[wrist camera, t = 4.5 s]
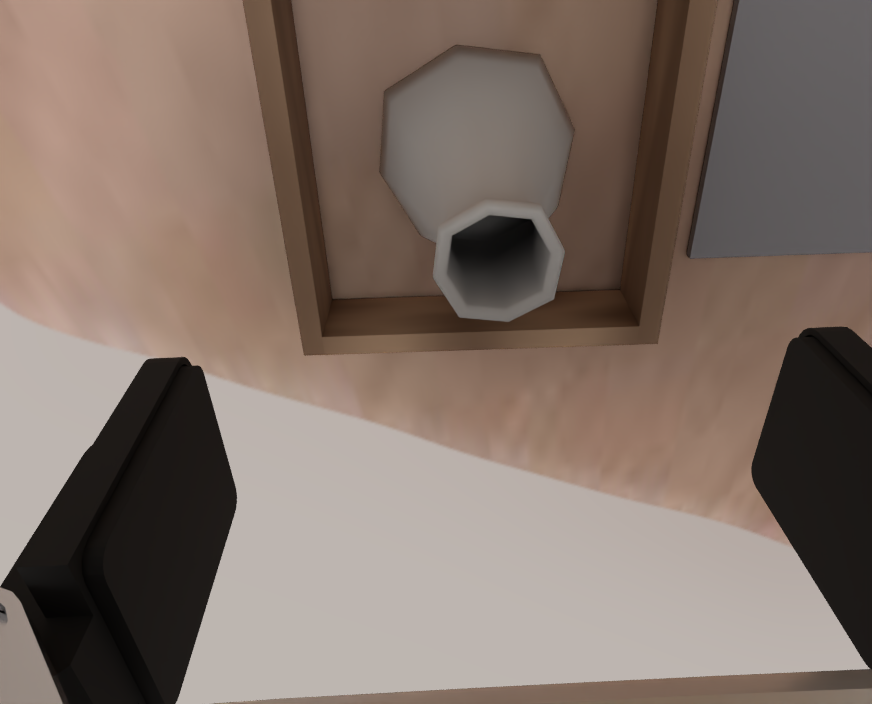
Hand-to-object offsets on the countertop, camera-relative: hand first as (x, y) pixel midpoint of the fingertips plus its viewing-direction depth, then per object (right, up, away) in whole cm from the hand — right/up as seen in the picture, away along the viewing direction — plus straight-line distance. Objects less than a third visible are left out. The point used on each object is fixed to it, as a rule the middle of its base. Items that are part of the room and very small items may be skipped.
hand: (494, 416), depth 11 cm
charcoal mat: (+14, +10, +12) cm, 21 cm away
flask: (0, +9, +13) cm, 16 cm away
